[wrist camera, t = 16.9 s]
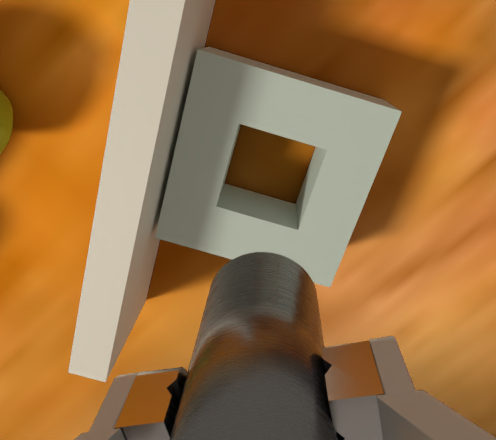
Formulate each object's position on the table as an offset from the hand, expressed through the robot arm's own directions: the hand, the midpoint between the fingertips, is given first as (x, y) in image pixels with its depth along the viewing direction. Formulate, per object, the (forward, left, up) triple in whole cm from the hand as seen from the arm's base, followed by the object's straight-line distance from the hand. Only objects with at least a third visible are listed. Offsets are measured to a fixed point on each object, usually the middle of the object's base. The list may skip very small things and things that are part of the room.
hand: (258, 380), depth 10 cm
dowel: (0, 0, -3) cm, 3 cm away
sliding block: (0, 0, -19) cm, 19 cm away
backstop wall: (0, +6, -19) cm, 20 cm away
